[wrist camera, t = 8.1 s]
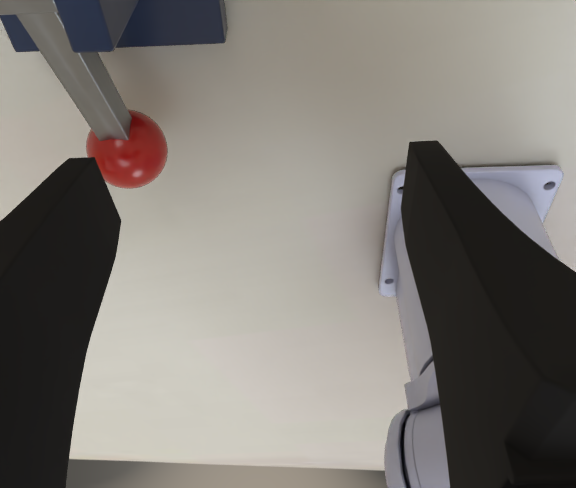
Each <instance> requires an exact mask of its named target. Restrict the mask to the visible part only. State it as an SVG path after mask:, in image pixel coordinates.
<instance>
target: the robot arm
mask: <svg viewBox="0 0 576 488" xmlns="http://www.w3.org/2000/svg"><path fill="white" fill-rule="evenodd" d="M563 175H564V173H563V171H562V169H561V167H559V166H558V165H533V166H502V167H471V168H460V167H459V165H458V164H457V163H456V162H455V161H454V160H453V158H452V157H451V156H450V155H449V154H448V152H447V151H446V150H445V149H444V148H443V146H442V145H441V144H440V143H439V142H438V141H418V142H409V149H408V157H407V164H406V170H399V171H398V172H396V173H395V174H394V175H393V177H392V183H391V191H390V199H389V207H388V215H387V223H386V231H385V239H384V247H383V255H382V263H381V271H380V278H379V286H378V288H379V293H380V294H381V295H382V296H396V298H397V304H398V310H399V316H400V322H401V328H402V334H403V340H404V346H405V352H406V358H407V364H408V370H409V375H410V378H411V382H408V383H406V384H405V392H406V398H407V404H408V409H405V410H402V411H400V412H399V413H397V414H396V415H395V416H394V418H393V419H392V421H391V424H390V427H389V430H388V435H387V441H386V445H385V455H384V464H385V475H386V482H387V487H388V488H576V272H575V271H573V270H572V269H570V268H569V267H567V266H566V265H565V264H563V263H562V262H560V260H559V258H558V256H557V254H556V251H555V249H554V247H553V245H552V243H551V241H550V239H549V236H548V234H547V232H546V230H545V228H544V226H543V222H544V220H545V217H546V215H547V213H548V211H549V208H550V206H551V204H552V201H553V199H554V197H555V194H556V192H557V190H558V188H559V185H560V183H561V181H562V178H563ZM548 182H551V183H549V184H546V183H548ZM545 184H546V185H545ZM402 186H404V187H403V189H398V188H399V187H402ZM120 225H121V219H120V217H119V214H118V212H117V209H116V207H115V205H114V202H113V200H112V197H111V195H110V193H109V190H108V188H107V185H106V183H105V181H104V178H103V176H102V174H101V171H100V169H99V166H98V164H97V162H96V159H95V157H88V158H69V159H68V160H67V161H65V162H64V163H63V164H62V165H61V166H59V167H58V168H57V169H56V170H55V171H54V172H53V173H52V174H51V175H50V176H49V177H48V178H46V179H45V180H44V181H43V182H42V183H41V184H40V185H39V186H38V187H37V188H36V189H35V190H34V191H33V192H32V193H31V194H30V195H29V196H27V197H26V198H25V199H24V200H23V201H22V202H21V203H20V204H19V205H18V206H17V207H16V208H15V209H14V210H12V211H11V212H10V213H9V214H8V215H7V216H6V217H5V218H4V219H3V220H1V221H0V488H65V487H66V478H67V467H68V460H69V453H70V445H71V438H72V430H73V424H74V418H75V411H76V405H77V399H78V393H79V388H80V382H81V377H82V372H83V367H84V362H85V357H86V352H87V348H88V345H89V341H90V337H91V334H92V331H93V328H94V324H95V321H96V318H97V315H98V312H99V309H100V306H101V302H102V299H103V296H104V293H105V290H106V287H107V284H108V280H109V277H110V274H111V271H112V267H113V264H114V260H115V257H116V251H117V245H118V239H119V232H120ZM388 278H390V279H388Z"/></svg>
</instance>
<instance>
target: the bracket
mask: <svg viewBox="0 0 576 488" xmlns="http://www.w3.org/2000/svg"><path fill="white" fill-rule="evenodd" d="M54 2H55V5H56V7H57V10H58V13H59V15H60V18H61V21H62V24H63V26H64V29H65V32H66V34H67V37H68V40H69V43H70V45H71V48H72V51H73V52H74V53H87V52H110V51H113V50H114V49H115V48H123V47H146V46H169V45H193V44H216V43H225V40H226V34H227V29H228V27H227V19H226V12H225V5H224V0H54ZM0 18H1V21H2V23H3V25H4V27H5V30H6V32H7V34H8V36H9V38H10V41H11V43H12V45H13V47H14V49H15V51H16V52H30V51H40V50H39V49H38V47H37V46H36V44H35V43H34V41H33V40H32V38H31V37H30V35H29V33H28V32H27V30H26V29H25V27H24V26H23V24H22V23H21V21H20V20H19V18H18V17H17V15H16V14H14V15H0Z"/></svg>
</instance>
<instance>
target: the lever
mask: <svg viewBox="0 0 576 488" xmlns="http://www.w3.org/2000/svg"><path fill="white" fill-rule="evenodd" d="M14 14H16V15H17V17H18V18H19V20H20V21H21V23H22V24H23V26H24V27H25V29H26V30H27V32H28V33H29V35H30V37H31V38H32V40H33V41H34V43H35V44H36V46H37V47H38V49H39V50H40V52H41V53H42V55H43V56H44V58H45V59H46V61H47V62H48V64H49V65H50V67H51V68H52V70H53V71H54V73H55V74H56V76H57V77H58V79H59V80H60V82H61V83H62V85H63V86H64V88H65V89H66V91H67V92H68V94H69V95H70V97H71V98H72V100H73V101H74V103H75V104H76V106H77V108H78V109H79V111H80V112H81V114H82V115H83V117H84V118H85V120H86V121H87V123H88V124H89V126H90V127H91V130H90V132H89V134H88V138H87V144H86V150H87V156H88V157H95V159H96V162H97V164H98V166H99V169H100V171H101V174H102V176H103V178H104V181H106V182H107V183H109V184H111V185H113V186H116V187H120V188H138V187H142V186H144V185H147V184H149V183H150V182H152V181H153V180H154V179H155V178H156V177H158V175H159V174H160V173H161V171H162V170H163V168H164V166H165V163H166V160H167V153H168V149H167V142H166V139H165V136H164V134H163V132H162V130H161V129H160V127H159V126H158V125H157V123H155V122H154V121H153V120H152V119H151V118H150V117H148V116H147V115H145V114H143V113H141V112H138V111H134V110H127V108H126V106H125V104H124V102H123V100H122V98H121V96H120V94H119V93H118V91H117V89H116V87H115V85H114V83H113V81H112V79H111V77H110V75H109V74H108V72H107V70H106V68H105V66H104V64H103V62H102V60H101V58H100V56H99V54H98V53H97V52H87V53H74V52H73V51H72V48H71V45H70V43H69V40H68V37H67V34H66V32H65V29H64V26H63V24H62V21H61V18H60V15H59V13H58V10H57V7H56V5H55V2H54V0H0V15H14Z"/></svg>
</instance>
